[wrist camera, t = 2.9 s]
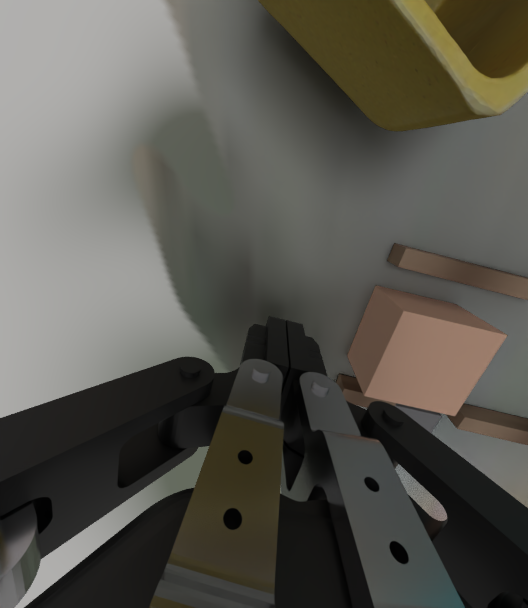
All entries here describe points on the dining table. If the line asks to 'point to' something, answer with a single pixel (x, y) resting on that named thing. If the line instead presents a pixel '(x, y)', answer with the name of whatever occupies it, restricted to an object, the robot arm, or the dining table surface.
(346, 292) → the dining table surface
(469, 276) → the lane
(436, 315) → the terracotta block
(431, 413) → the trap pads
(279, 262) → the dining table surface
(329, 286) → the dining table surface
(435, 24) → the flower pot
